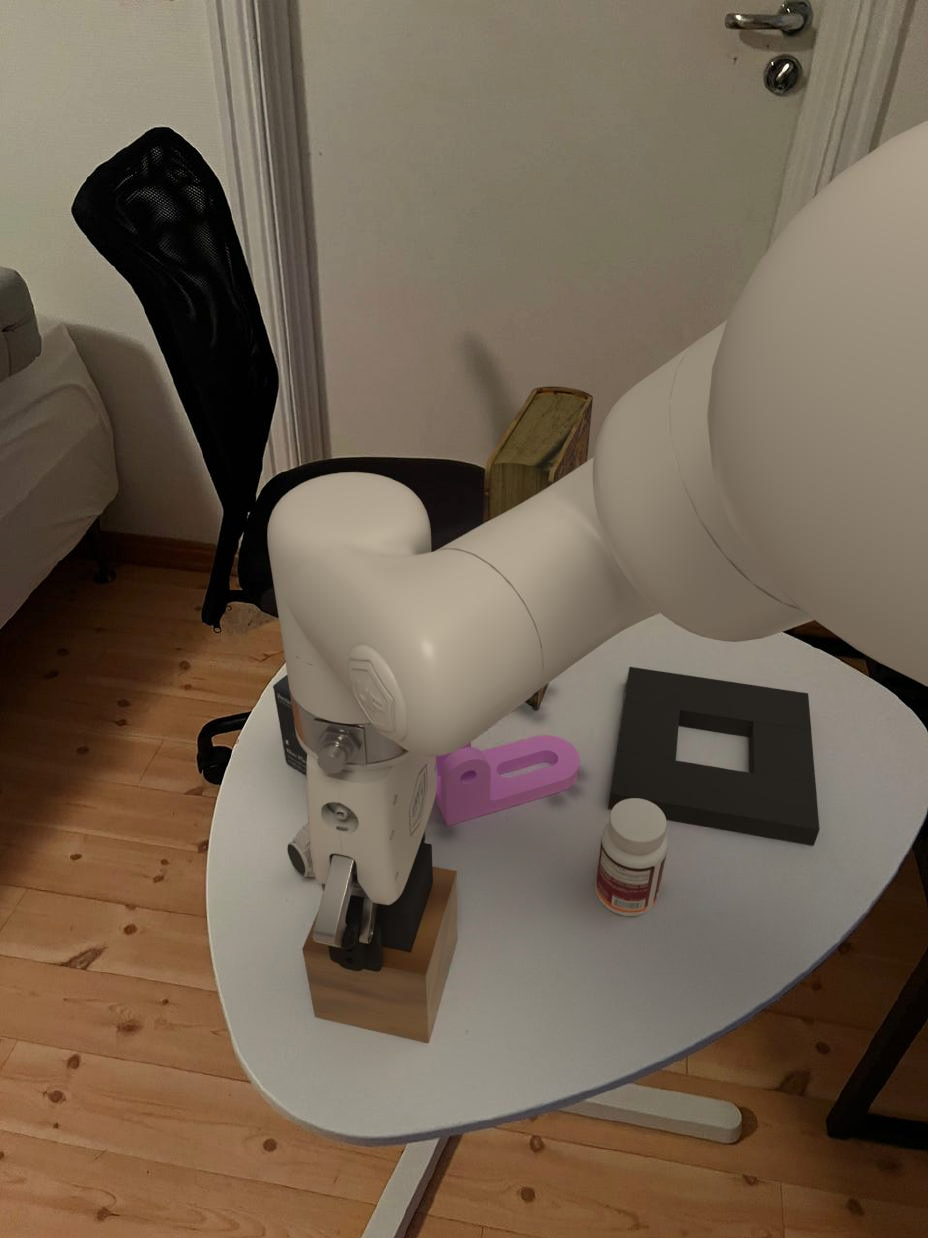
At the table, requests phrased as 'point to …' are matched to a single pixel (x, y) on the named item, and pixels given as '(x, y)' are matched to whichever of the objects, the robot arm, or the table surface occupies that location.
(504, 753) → the bracket
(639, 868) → the pill bottle
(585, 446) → the book
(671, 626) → the table surface
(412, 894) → the pad
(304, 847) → the wristwatch
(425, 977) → the wooden block
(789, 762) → the base pad
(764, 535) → the robot arm
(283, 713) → the box
